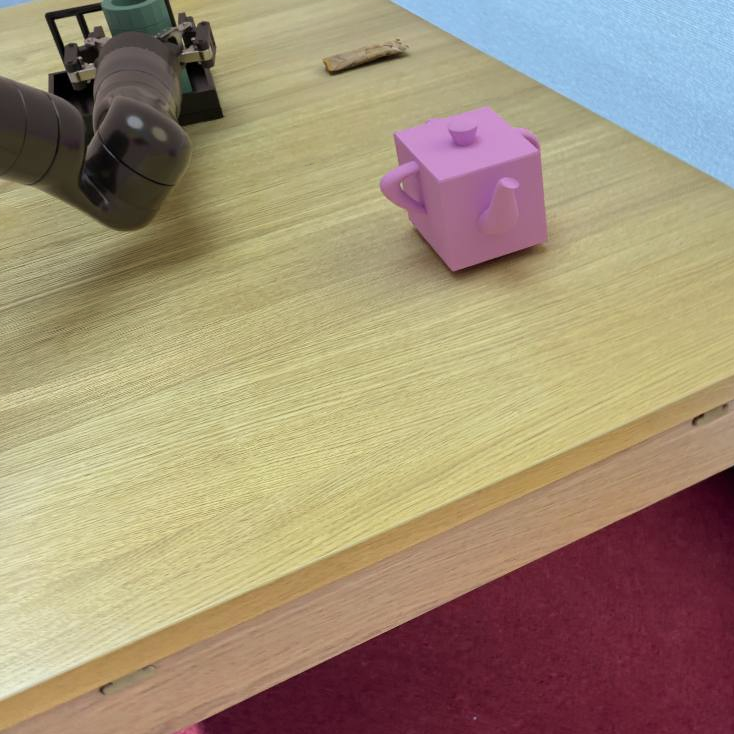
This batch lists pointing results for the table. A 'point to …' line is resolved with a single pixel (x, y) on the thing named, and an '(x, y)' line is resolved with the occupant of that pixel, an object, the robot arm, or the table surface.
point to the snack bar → (363, 55)
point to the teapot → (470, 186)
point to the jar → (140, 21)
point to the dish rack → (193, 104)
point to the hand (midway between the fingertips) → (143, 29)
